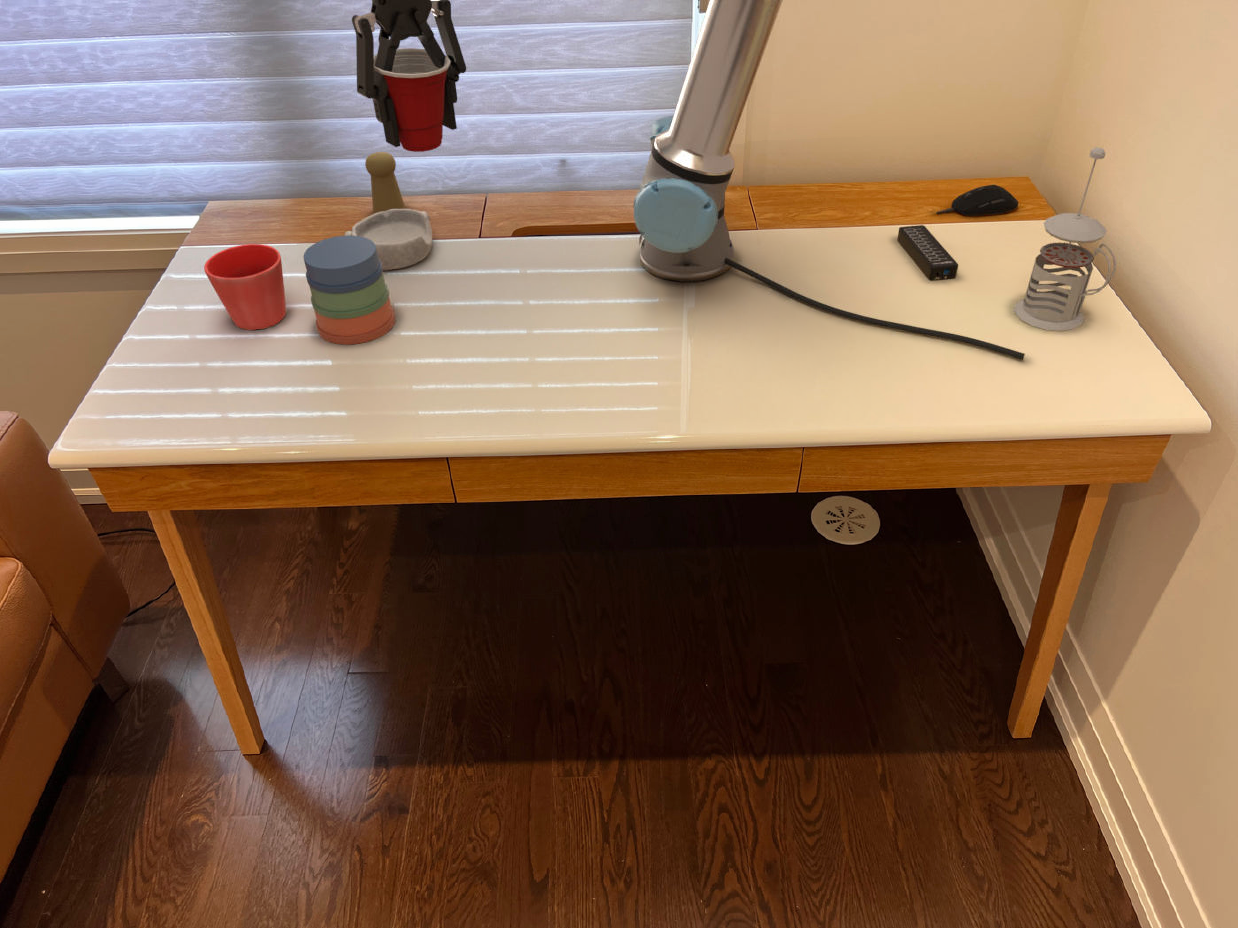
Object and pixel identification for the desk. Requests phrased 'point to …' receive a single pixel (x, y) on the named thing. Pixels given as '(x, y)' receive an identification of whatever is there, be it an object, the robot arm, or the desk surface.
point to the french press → (1064, 304)
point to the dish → (397, 236)
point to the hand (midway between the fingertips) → (421, 135)
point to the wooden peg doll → (384, 182)
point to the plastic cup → (417, 98)
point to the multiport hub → (927, 253)
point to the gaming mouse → (984, 201)
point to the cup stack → (348, 290)
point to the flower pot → (249, 284)
